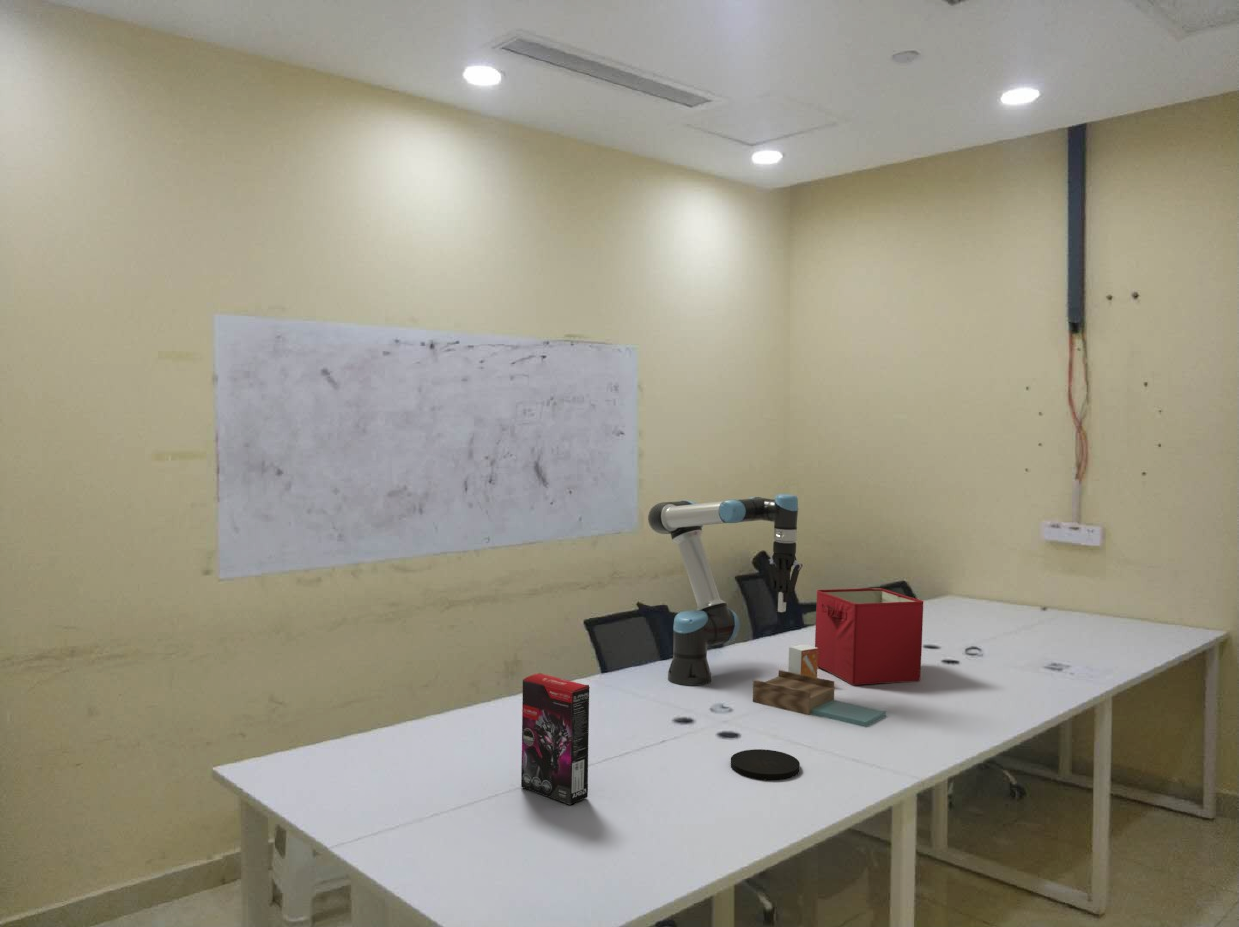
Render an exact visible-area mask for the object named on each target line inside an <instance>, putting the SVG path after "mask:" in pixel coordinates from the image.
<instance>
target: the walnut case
mask: <svg viewBox="0 0 1239 927" xmlns="http://www.w3.org/2000/svg"><path fill="white" fill-rule="evenodd" d="M777 673H778V675H777V676H776V677H774V678H770V679H768V680H765V681H763V680H757V679H753V680H752V702H753V703H756V704H761V705H764V706H768V707H773V708H777V709H781V710H786V711H790V712H793V713H794V712H795V713H798V714H803V715H807V716H809V715H812V714H811V709H813V708H816V707H818V706H820V705H822V704H824V703H827V702H829V701H831V700H835V681H834V680H830V679H825V678H819V677H817V678H816V677H811V676H806V675H801V674H797V673H792V672H788V670H787V671H785V670H781V669H779V670H778V672H777Z"/></svg>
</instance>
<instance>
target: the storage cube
mask: <svg viewBox="0 0 1239 927" xmlns="http://www.w3.org/2000/svg"><path fill="white" fill-rule="evenodd" d="M815 607H816V609H815V611H816V612H815V631H814V632H815V633H814V634H815V637H814V638H815V639H814V647H816V648H818V664H817V668H820V669H822V670H824V671H826V672H829V673H830V674H832V675H834V676H836V677H838V678H840V679H841V680H843V681H845V682H847V683H848V684H850V685H851V686H858V685H874V684H891V683H892V684H893V683H909V682H910V683H911V682H919V681H920V680H921V669H922V648H923V624H924V623H923V622H924V620H923V619H924V601H923V600H921V599H918V598H914V597H910V596H907V595H903V594H901V593H899V592H898V593H897V592H894V591H890V590H889V589H885V588H881V587H877V588H876V587H875V588H872V587H871V588H870V587H869V588H868V587H867V588H842V589H841V588H837V589H836V588H835V589H834V588H832V589H817V590H816V606H815Z"/></svg>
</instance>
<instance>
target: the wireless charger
mask: <svg viewBox="0 0 1239 927" xmlns="http://www.w3.org/2000/svg"><path fill="white" fill-rule="evenodd" d="M800 767H801V763H800V760H798V759H797V758H796V757H795V756H793V755H791V754H788V753H786V752H784V751H783V752H782V751H779V750H774V749H773V750H772V749H762V748H761V749H760V748H759V749H757V748H756V749H755V748H754V749H745V750H741V751H738V752H735V753H734V754H732V755H731V757H730V768H731V770H732V771H733V772H734V773H736V774H738V775H740V776H741V777H744V778H748V779H752V780H758V781H765V782H767V781H769V782H771V781H773V782H774V781H786V780H789V779H790V780H791V779H792V778H795V777H796V776H798V775H799V774H800V771H801V769H800Z"/></svg>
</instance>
